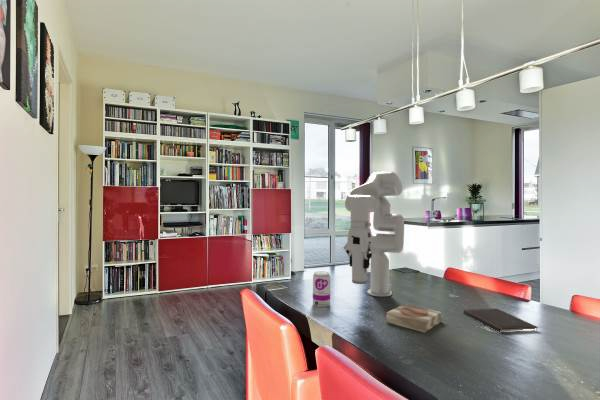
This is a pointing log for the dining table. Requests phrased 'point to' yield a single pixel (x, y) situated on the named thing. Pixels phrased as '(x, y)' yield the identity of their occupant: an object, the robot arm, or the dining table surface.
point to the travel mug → (358, 263)
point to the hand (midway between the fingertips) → (359, 266)
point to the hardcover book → (498, 319)
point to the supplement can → (321, 289)
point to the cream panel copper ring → (414, 317)
